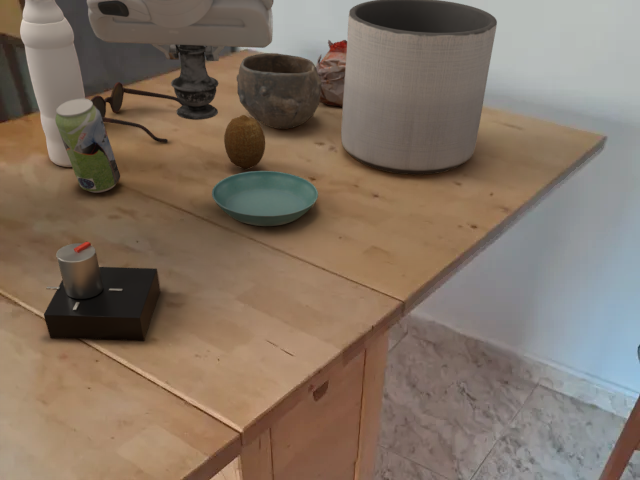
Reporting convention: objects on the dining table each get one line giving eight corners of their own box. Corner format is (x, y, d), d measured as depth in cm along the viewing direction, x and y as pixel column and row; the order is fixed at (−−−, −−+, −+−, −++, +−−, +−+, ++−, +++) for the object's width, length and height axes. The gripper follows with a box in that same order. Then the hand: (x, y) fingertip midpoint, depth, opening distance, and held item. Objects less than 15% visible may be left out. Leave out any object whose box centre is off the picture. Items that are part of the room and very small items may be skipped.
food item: (353, 111, 128) (357, 52, 121) (311, 107, 129) (312, 48, 122) (363, 88, 137) (367, 33, 131) (324, 84, 138) (326, 29, 132)
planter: (411, 119, 126) (426, -8, 112) (501, 160, 113) (530, 22, 99) (314, 143, 116) (317, 6, 102) (400, 191, 103) (417, 42, 89)
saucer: (336, 220, 95) (337, 202, 93) (240, 243, 90) (239, 224, 88) (287, 180, 104) (287, 163, 103) (197, 198, 99) (195, 180, 97)
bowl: (292, 145, 115) (292, 81, 108) (219, 125, 120) (215, 62, 113) (335, 121, 123) (337, 60, 117) (264, 103, 129) (263, 44, 122)
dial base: (39, 337, 73) (32, 313, 71) (65, 287, 81) (59, 263, 78) (144, 341, 73) (139, 316, 71) (160, 290, 81) (156, 267, 79)
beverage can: (130, 185, 101) (116, 100, 93) (92, 203, 97) (74, 114, 88) (100, 174, 104) (84, 90, 95) (62, 191, 99) (42, 103, 91)
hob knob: (85, 303, 73) (75, 263, 70) (57, 292, 74) (46, 252, 71) (111, 286, 76) (103, 246, 72) (83, 276, 77) (74, 236, 74)
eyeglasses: (125, 105, 126) (121, 76, 122) (201, 116, 123) (198, 86, 120) (84, 133, 115) (78, 102, 112) (166, 145, 113) (162, 113, 109)
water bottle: (60, 172, 104) (15, -22, 87) (43, 156, 108) (-3, -32, 91) (104, 162, 107) (69, -27, 90) (86, 147, 111) (50, -37, 94)
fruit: (236, 157, 110) (234, 105, 105) (272, 164, 109) (271, 111, 103) (218, 172, 106) (215, 118, 100) (255, 179, 104) (253, 125, 99)
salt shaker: (228, 109, 89) (222, 3, 81) (204, 123, 85) (196, 13, 77) (190, 101, 91) (180, -3, 83) (165, 115, 87) (152, 6, 79)
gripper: (272, -49, 71) (278, 32, 84) (73, -57, 70) (111, 26, 84) (271, 11, 70) (276, 83, 84) (70, 3, 70) (109, 77, 84)
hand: (192, 54), depth 84 cm, fingers closed on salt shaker, 3 cm apart
